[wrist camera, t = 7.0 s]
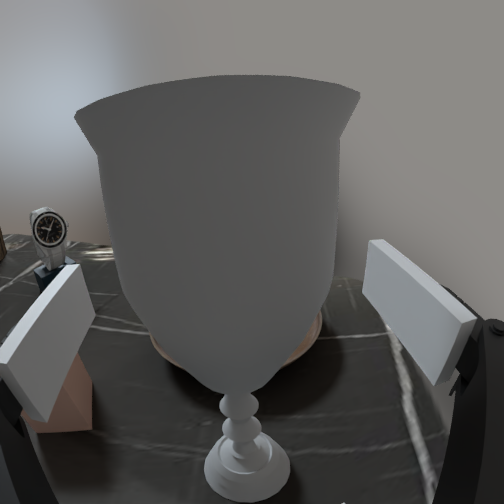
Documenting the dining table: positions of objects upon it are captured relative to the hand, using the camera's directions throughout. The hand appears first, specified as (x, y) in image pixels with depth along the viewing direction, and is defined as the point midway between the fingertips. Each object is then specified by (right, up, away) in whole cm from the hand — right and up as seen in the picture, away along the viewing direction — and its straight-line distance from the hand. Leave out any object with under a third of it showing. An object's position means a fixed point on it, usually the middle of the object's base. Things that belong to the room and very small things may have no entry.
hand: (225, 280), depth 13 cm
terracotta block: (-13, -11, +4) cm, 18 cm away
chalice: (+1, -12, +1) cm, 12 cm away
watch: (-25, -4, +22) cm, 34 cm away
